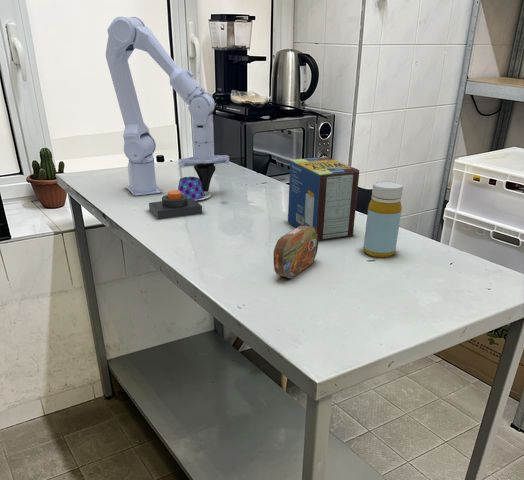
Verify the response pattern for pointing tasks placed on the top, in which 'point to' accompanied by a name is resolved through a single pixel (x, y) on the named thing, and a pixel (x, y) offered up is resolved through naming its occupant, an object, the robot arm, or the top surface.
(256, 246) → the top surface
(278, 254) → the tin
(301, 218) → the protein box
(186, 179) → the pudding
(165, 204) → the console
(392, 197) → the bottle
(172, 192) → the button
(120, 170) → the top surface
